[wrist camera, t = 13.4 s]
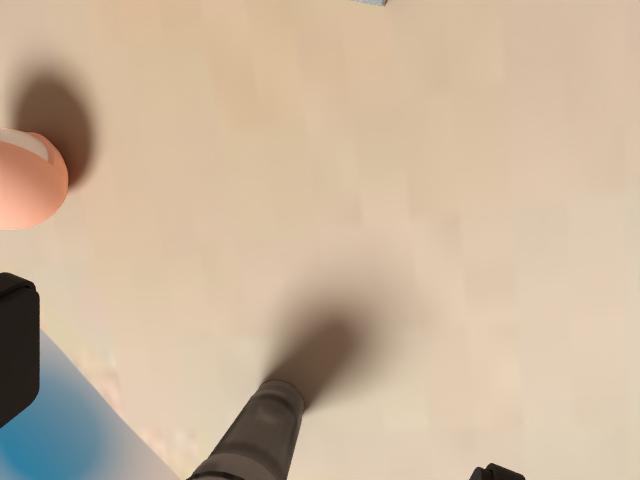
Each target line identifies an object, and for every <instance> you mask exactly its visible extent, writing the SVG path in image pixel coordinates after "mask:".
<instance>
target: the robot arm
mask: <svg viewBox="0 0 640 480" xmlns="http://www.w3.org/2000/svg"><path fill="white" fill-rule="evenodd" d="M39 330H40V298H39V294H38V292H36V287H35V285H34V283H32V282H31V281H28V280H26V279H23V278H21V277H18V276H16V275H13V274H11V273H5V272H3V273H0V428H1V427H3V426H4V425H5V424H6V423H8V422H9V421H10V420H11V419H13V418H14V417H15V416H17V415H18V414H19V413H20V412H22V411H23V410H24V409H25V408H26V407H28V406H29V405H30V404H31V403H32V402H33V401H34V399H35V398H36V396H37V394H38V392H39V372H40V371H39V370H40V368H39V366H40V364H39V362H40V360H39V358H40V357H39V356H40V351H39V350H40V349H39V348H40V347H39V346H40V342H39V340H40V336H39V335H40V334H39V333H40V331H39ZM469 480H525V477H524V476H523V475H521V474H519V473H516V472H514V471H511V470H508V469H506V468H503V467H501V466H498V465H496V464H493V463H490V464H489V465H488V466H487V467H486V469H483V468H481V467H477V468H476V469H475V470H474V472H473V474H472V476H471V477H470V479H469Z"/></svg>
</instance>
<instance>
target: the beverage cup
mask: <svg viewBox="0 0 640 480" xmlns="http://www.w3.org/2000/svg"><path fill="white" fill-rule="evenodd" d="M304 406H305V405H304V400H303V397H302V396H301V394H300V392H299V391H298V390H297V389H296V388H295V387H294V386H292V385H290V384H289V383H286V382H283V381H280V380H271V381H268V382H265V383H264V384H262V385H261V386H260V387H259V389H258V390H257V391H256V393H255V394H254V395H253V396H252V397H251V398H250V400H249V401H248V403H247V404H246V405H245V407H244V408H243V410H242V411H241V412H240V414H239V415H238V417H237V418H236V419H235V421H234V422H233V424H232V425H231V426H230V428H229V429H228V431H227V432H226V433H225V435H224V436H223V438H222V439H221V440H220V442H219V443H218V445H217V446H216V447H215V449H214V450H213V452H212V453H211V454H210V456H209V457H208V459H207V460H205V461H204V462H203V463H202V464H201V465H200V466H199V467H198V468H197V469H196V470H195V471H194V472H193V474H192V476H191V477H189V478H188V479H186V480H287V476H288V472H289V468H290V464H291V460H292V457H293V453H294V449H295V445H296V441H297V437H298V433H299V430H300V426H301V421H302V414H303V411H304Z"/></svg>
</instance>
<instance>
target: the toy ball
mask: <svg viewBox="0 0 640 480" xmlns="http://www.w3.org/2000/svg"><path fill="white" fill-rule="evenodd" d="M67 193H68V172H67V168H66V165H65V162H64V160H63V158H62V156H61V154H60V153H59V151H58V150H57V149H56V148H55V146H54V145H53V144H52V143H51V142H50V141H48V140H47V139H46V138H45V137H44V136H42V135H40V134H38V133H34V132H22V131H19V130H14V129H9V128H2V127H0V229H4V230H16V229H23V228H28V227H31V226H34V225H37V224H39V223H41V222H43V221H45V220H46V219H48V218H49V217H51V216H52V215H53V214H54V213H55V212H56V211H57V210H58V209H59V208H60V206H61V205H62V203H63V202H64V200H65V198H66V196H67Z"/></svg>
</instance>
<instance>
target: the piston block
mask: <svg viewBox="0 0 640 480" xmlns="http://www.w3.org/2000/svg"><path fill="white" fill-rule="evenodd" d="M353 1H358V2H364V3H369V4H374V5H379V6H385V1H386V0H353Z"/></svg>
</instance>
